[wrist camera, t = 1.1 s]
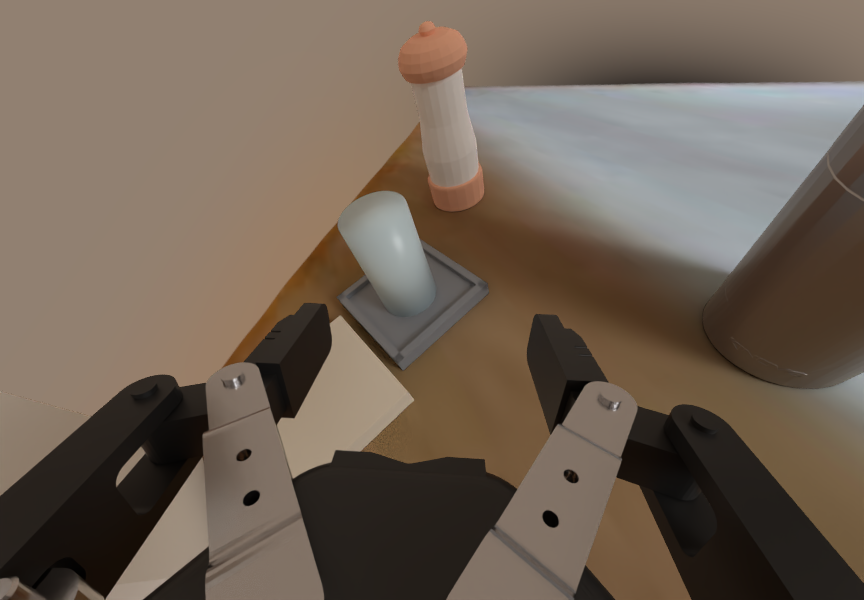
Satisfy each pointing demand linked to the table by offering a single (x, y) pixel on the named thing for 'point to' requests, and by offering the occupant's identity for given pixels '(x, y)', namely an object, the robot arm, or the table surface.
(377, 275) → the pale grey cylinder
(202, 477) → the white c-shaped stand
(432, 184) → the pepper shaker
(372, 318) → the tray
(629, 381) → the table surface
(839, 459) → the table surface
